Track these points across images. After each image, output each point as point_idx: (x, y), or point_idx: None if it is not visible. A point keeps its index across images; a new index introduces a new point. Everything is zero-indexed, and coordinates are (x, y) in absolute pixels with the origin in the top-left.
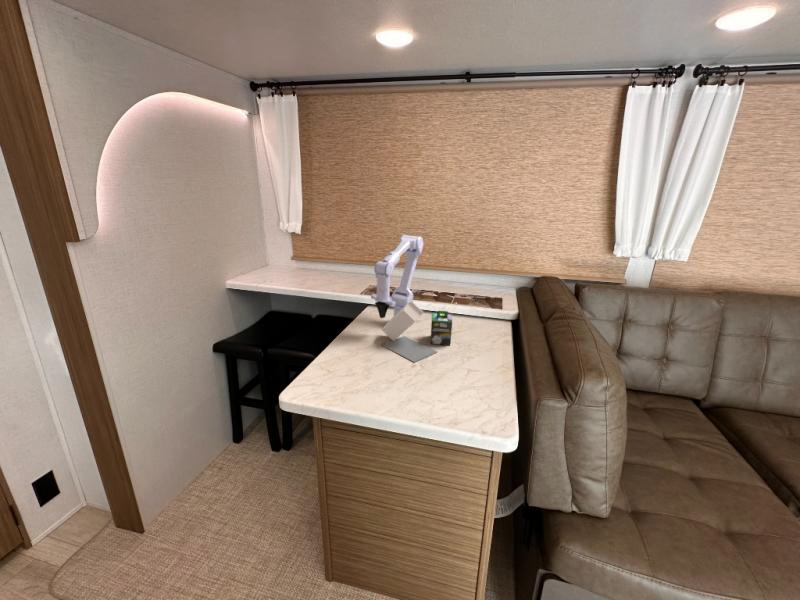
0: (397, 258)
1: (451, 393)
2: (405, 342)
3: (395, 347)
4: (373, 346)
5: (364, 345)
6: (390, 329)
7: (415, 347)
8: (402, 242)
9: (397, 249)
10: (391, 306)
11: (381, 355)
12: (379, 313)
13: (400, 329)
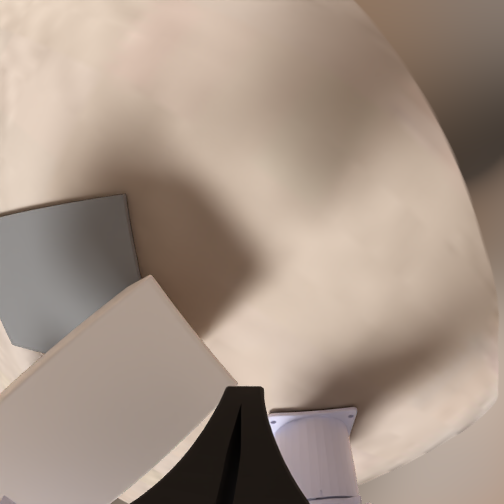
0: None
1: None
2: None
3: (62, 243)
4: (138, 137)
5: (186, 90)
6: (92, 317)
7: (44, 318)
8: None
9: None
10: (8, 501)
11: (39, 127)
12: (251, 423)
13: (48, 351)
